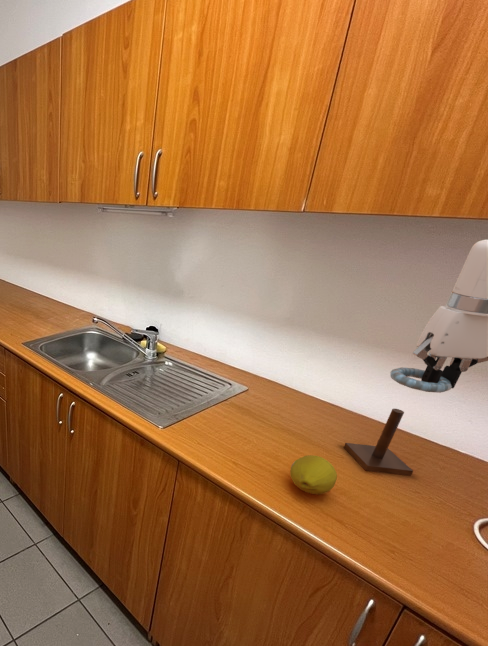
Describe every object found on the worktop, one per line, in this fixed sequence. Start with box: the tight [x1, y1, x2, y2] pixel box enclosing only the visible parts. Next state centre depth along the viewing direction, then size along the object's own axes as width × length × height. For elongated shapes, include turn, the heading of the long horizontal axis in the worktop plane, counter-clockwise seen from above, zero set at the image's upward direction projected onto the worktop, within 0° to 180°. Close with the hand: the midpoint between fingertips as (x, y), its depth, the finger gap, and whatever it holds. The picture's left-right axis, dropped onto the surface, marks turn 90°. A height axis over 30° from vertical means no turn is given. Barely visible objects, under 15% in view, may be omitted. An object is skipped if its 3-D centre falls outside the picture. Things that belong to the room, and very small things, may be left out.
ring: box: [390, 366, 453, 394], centre depth 86 cm, size 9×9×2 cm
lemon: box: [289, 454, 338, 495], centre depth 87 cm, size 11×8×8 cm
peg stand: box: [343, 408, 414, 477], centre depth 94 cm, size 9×9×14 cm
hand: (436, 384), depth 86 cm, fingers closed on ring, 2 cm apart
